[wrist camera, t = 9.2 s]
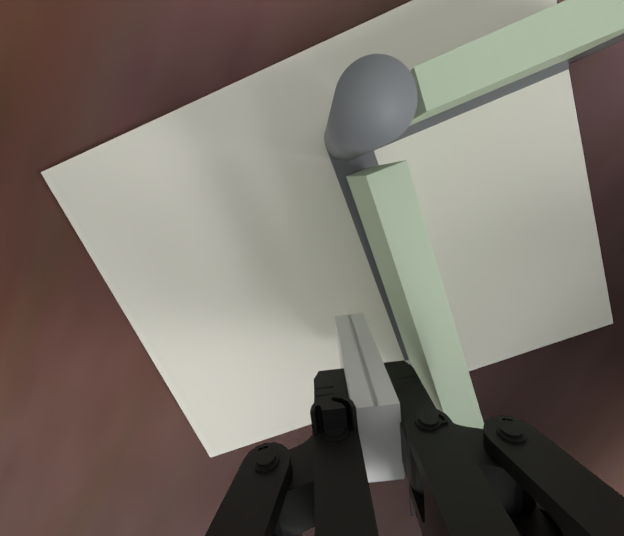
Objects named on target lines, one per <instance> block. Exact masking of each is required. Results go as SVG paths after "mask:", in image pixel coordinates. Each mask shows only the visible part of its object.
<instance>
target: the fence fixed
mask: <svg viewBox="0 0 624 536" xmlns="http://www.w3.org/2000/svg"><path fill="white" fill-rule="evenodd" d="M622 40H624V0H565V1H563V2H561V3H558V4H556V5H554V6H552V7H549V8H547V9H545V10H543V11H540V12H538V13H536V14H533V15H531V16H529V17H527V18H524V19H522V20H520V21H518V22H515V23H513V24H511V25H508V26H506V27H504V28H502V29H499V30H497V31H495V32H493V33H490V34H488V35H486V36H483V37H481V38H479V39H477V40H474V41H472V42H470V43H468V44H465V45H463V46H461V47H458V48H456V49H454V50H452V51H449V52H447V53H445V54H443V55H440V56H438V57H436V58H434V59H431V60H429V61H427V62H424V63H422V64H420V65H418V66H415V67H414V68H413V69H412V70H411V71H409V69H408V68H407V67H406V66H405V65H404V64H403V63H402V62H401V61H399V60H398V59H396V58H394V57H392V56H389V55H385V54H371V55H366V56H364V57H361V58H359V59H357V60H356V61H354V62H353V63H352V64H350V65H349V66H348V67H347V68H346V70H345V71H344V72H343V74H342V75H341V77H340V78H339V81H338V83H337V86H336V89H335V93H334V97H333V101H332V105H331V109H330V113H329V117H328V122H327V126H326V130H325V134H324V142H325V146H326V148H327V150H328V152H329V153H330V154H331V155H332V156H333V157H334V158H336V159H338V160H342V161H349V160H352V159H355V158H357V157H359V156H361V155H363V154H366V153H368V152H370V151H372V150H374V149H376V148H379V147H381V146H383V145H385V144H387V143H389V142H391V141H393V140H395V139H396V138H398V137H399V136H400V135H402V134H403V133H404V132H405V130H406V129H407V128H408V127H409V126H410V125H413V124H415V123H417V122H420V121H422V120H425V119H427V118H429V117H432V116H434V115H436V114H439V113H441V112H444V111H446V110H448V109H451V108H453V107H455V106H458V105H460V104H463V103H465V102H467V101H470V100H472V99H474V98H477V97H479V96H481V95H484V94H486V93H489V92H491V91H493V90H496V89H498V88H500V87H503V86H505V85H508V84H510V83H512V82H515V81H517V80H519V79H522V78H524V77H527V76H529V75H531V74H534V73H536V72H538V71H541V70H543V69H546V68H548V67H550V66H553V65H555V64H557V63H560V62H562V61H565V60H567V59H568V61H569V63H572V62H575V61H577V60H580V59H582V58H584V57H586V56H589V55H591V54H593V53H595V52H598V51H600V50H602V49H604V48H607V47H609V46H611V45H613V44H616V43H618V42H620V41H622Z"/></svg>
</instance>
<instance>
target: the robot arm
mask: <svg viewBox="0 0 624 536" xmlns="http://www.w3.org/2000/svg"><path fill="white" fill-rule="evenodd" d="M335 321H336V330H337V339H338V348H339V357H340V365H341V369H332V370H324V371H318V373H317V375H316V376H315V378H314V404H313V405H312V406H311V410H310V416H311V423H312V429H313V434H312V436H311V437H310V438H309V439H308V440H307V441H306V442H304V443H303V444H301V445H299V446H297V447H295V448H292V449H290V450H288V449H287V448H286V447H284V446H283V445H282V444H279V443H275V442H273V443H264V444H262V445H259V446H257V447H255V448H254V449H253V450H251V451H250V452H249V453H248V454H247V456H246V457H245V458H244V460H243V462H242V464H241V466H240V468H239V470H238V472H237V474H236V476H235V478H234V480H233V482H232V484H231V486H230V488H229V490H228V492H227V493H226V495H225V497H224V499H223V501H222V503H221V505H220V507H219V509H218V511H217V513H216V515H215V517H214V519H213V521H212V523H211V525H210V527H209V529H208V531H207V533H206V535H205V536H302V532H304V531H306V530H308V529H310V528H312V527H314V526H315V536H379V535H378V530H377V525H376V519H375V514H374V509H373V504H372V499H371V494H370V488H369V483H370V482H379V481H389V480H399V479H405V476H404V468H405V471H406V474H407V477H408V480H409V493H410V509H411V516H413V515H415V512H416V515H417V518H418V522H419V525H420V528H421V531H422V534H423V536H624V497H623V496H622V495H620V494H619V493H618V492H616V491H615V490H614V489H612V488H611V487H610V486H609V485H607V484H606V483H605V482H603V481H602V480H601V479H599V478H598V477H597V476H596V475H594V474H593V473H592V472H590V471H589V470H588V469H587V468H585V467H584V466H583V465H581V464H580V463H579V462H577V461H576V460H575V459H574V458H572V457H571V456H570V455H568V454H567V453H566V452H564V451H563V450H562V449H561V448H559V447H558V446H557V445H555V444H554V443H553V442H551V441H550V440H549V439H548V438H546V437H545V436H544V435H542V434H541V433H540V432H538V431H537V430H536V429H535V428H533V427H532V426H531V425H529V424H527V423H526V422H524V421H522V420H519V419H516V418H513V417H509V416H495V417H491V418H490V419H488V420H486V422H485V424H484V426H483V429H480V428H473V427H466V426H461V425H457V424H455V423H453V422H452V420H451V419H450V418H449V417H448V416H447V415H446V414H445V413H443V412H442V411H440V410H438V409H436V407H435V405H434V403H433V402H432V400H431V398H430V396H429V395H428V393H427V391H426V389H425V387H424V386H423V384H422V382H421V380H420V378H419V377H418V375H417V373H416V371H415V369H414V368H413V367H412V366H411V365H410V364H408V363H407V362H405V361H404V360H402V361H394V362H385V363H383V361H382V358H381V356H380V353H379V351H378V349H377V346H376V344H375V341H374V339H373V336H372V334H371V332H370V329H369V327H368V324H367V322H366V319H365V317H364V314H363V313H358V314H350V315H341V316H335Z"/></svg>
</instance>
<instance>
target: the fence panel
mask: <svg viewBox="0 0 624 536" xmlns="http://www.w3.org/2000/svg"><path fill="white" fill-rule="evenodd" d="M346 178H347V180H348V183H349V186H350V189H351V192H352V195H353V198H354V201H355V204H356V207H357V210H358V212H359V215H360V218H361V221H362V224H363V227H364V230H365V233H366V236H367V239H368V242H369V244H370V247H371V250H372V253H373V256H374V259H375V262H376V265H377V268H378V271H379V274H380V276H381V279H382V282H383V285H384V288H385V291H386V294H387V297H388V300H389V303H390V306H391V308H392V311H393V314H394V317H395V320H396V323H397V326H398V329H399V332H400V335H401V338H402V340H403V343H404V346H405V349H406V352H407V355H408V358H409V361H410V363H409V364H410V365H411V366H412V367H413V368H414V369H415V371H416V373H417V375H418V377H419V378H420V380H421V382H422V384H423V386H424V387H425V389H426V391H427V393H428V395H429V396H430V398H431V400H432V402H433V403H434V405H435V407H436V409H438V410H440V411H442V412H443V413H445V414H446V415H447V416H448V417H449V418H450V419H451V420H452V422H453V423H455V424H457V425H461V426H466V427H473V428H480V429H483V426H484V422H483V419H482V415H481V412H480V409H479V405H478V402H477V398H476V395H475V392H474V388H473V385H472V381H471V378H470V374H469V371H468V368H467V364H466V361H465V357H464V354H463V351H462V347H461V344H460V340H459V337H458V334H457V330H456V327H455V323H454V320H453V317H452V313H451V310H450V306H449V303H448V300H447V296H446V293H445V289H444V286H443V282H442V279H441V276H440V272H439V269H438V265H437V262H436V259H435V255H434V252H433V248H432V245H431V242H430V238H429V235H428V231H427V228H426V225H425V221H424V218H423V214H422V211H421V207H420V204H419V201H418V197H417V194H416V190H415V187H414V184H413V180H412V177H411V173H410V170H409V167H408V163H407V160H404V161H399V162H393V163H388V164H383V165H377V166H372V167H369V168H366V169H364V170H361V171H359V172H356V173H354V174H351V175H349V176H346Z"/></svg>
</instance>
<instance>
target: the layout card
mask: <svg viewBox="0 0 624 536" xmlns="http://www.w3.org/2000/svg"><path fill="white" fill-rule="evenodd" d="M556 4H557V0H412V1H410V2H408V3H406V4H404V5H401V6H399V7H397V8H395V9H393V10H391V11H389V12H386V13H384V14H382V15H380V16H378V17H376V18H373V19H371V20H369V21H367V22H365V23H363V24H360V25H358V26H356V27H354V28H352V29H350V30H347V31H345V32H343V33H341V34H339V35H337V36H334V37H332V38H330V39H328V40H326V41H324V42H322V43H319V44H317V45H315V46H313V47H311V48H309V49H306V50H304V51H302V52H300V53H298V54H296V55H293V56H291V57H289V58H287V59H285V60H283V61H280V62H278V63H276V64H274V65H272V66H270V67H267V68H265V69H263V70H261V71H259V72H257V73H254V74H252V75H250V76H248V77H246V78H244V79H242V80H239V81H237V82H235V83H233V84H231V85H229V86H226V87H224V88H222V89H220V90H218V91H216V92H213V93H211V94H209V95H207V96H205V97H203V98H200V99H198V100H196V101H194V102H192V103H190V104H187V105H185V106H183V107H181V108H179V109H177V110H174V111H172V112H170V113H168V114H166V115H164V116H162V117H159V118H157V119H155V120H153V121H151V122H149V123H146V124H144V125H142V126H140V127H138V128H136V129H133V130H131V131H129V132H127V133H125V134H123V135H120V136H118V137H116V138H114V139H112V140H110V141H107V142H105V143H103V144H101V145H99V146H97V147H95V148H92V149H90V150H88V151H86V152H84V153H82V154H79V155H77V156H75V157H73V158H71V159H69V160H66V161H64V162H62V163H60V164H58V165H56V166H53V167H51V168H49V169H47V170H45V171H43V172H41V174H42V176H43V177H44V179H45V181H46V182H47V184H48V186H49V187H50V189H51V191H52V193H53V194H54V196H55V198H56V199H57V201H58V203H59V204H60V206H61V208H62V209H63V211H64V213H65V214H66V216H67V218H68V219H69V221H70V223H71V224H72V226H73V228H74V229H75V231H76V233H77V235H78V236H79V238H80V240H81V241H82V243H83V245H84V246H85V248H86V250H87V251H88V253H89V255H90V256H91V258H92V260H93V261H94V263H95V265H96V266H97V268H98V270H99V271H100V273H101V275H102V277H103V278H104V280H105V282H106V283H107V285H108V287H109V288H110V290H111V292H112V293H113V295H114V297H115V298H116V300H117V302H118V303H119V305H120V307H121V308H122V310H123V312H124V313H125V315H126V317H127V319H128V320H129V322H130V324H131V325H132V327H133V329H134V330H135V332H136V334H137V335H138V337H139V339H140V340H141V342H142V344H143V345H144V347H145V349H146V350H147V352H148V354H149V355H150V357H151V359H152V360H153V362H154V364H155V366H156V367H157V369H158V371H159V372H160V374H161V376H162V377H163V379H164V381H165V382H166V384H167V386H168V387H169V389H170V391H171V392H172V394H173V396H174V397H175V399H176V401H177V402H178V404H179V406H180V408H181V409H182V411H183V413H184V414H185V416H186V418H187V419H188V421H189V423H190V424H191V426H192V428H193V429H194V431H195V433H196V434H197V436H198V438H199V439H200V441H201V443H202V444H203V446H204V448H205V450H206V451H207V453H208V455H209V456H210V458H211V457H214V456H217V455H220V454H223V453H226V452H229V451H232V450H235V449H238V448H241V447H244V446H247V445H250V444H253V443H256V442H259V441H262V440H265V439H268V438H271V437H274V436H277V435H280V434H283V433H286V432H289V431H292V430H295V429H298V428H301V427H304V426H307V425H310V424H312V423H311V416H310V410H311V406H312V405H313V404H314V378H315V376H316V375H317V373H318V371H324V370H332V369H341V365H340V357H339V348H338V339H337V330H336V321H335V316H341V315H350V314H358V313H363V314H364V317H365V319H366V322H367V324H368V327H369V329H370V332H371V334H372V336H373V339H374V341H375V344H376V346H377V349H378V351H379V353H380V356H381V358H382V361H383V363H385V362H394V361H402V360H404V361H405V362H407V363H408V364H409V363H410V361H409V358H408V355H407V352H406V349H405V346H404V343H403V340H402V338H401V335H400V332H399V329H398V326H397V323H396V320H395V317H394V314H393V311H392V308H391V306H390V303H389V300H388V297H387V294H386V291H385V288H384V285H383V282H382V279H381V276H380V274H379V271H378V268H377V265H376V262H375V259H374V256H373V253H372V250H371V247H370V244H369V242H368V239H367V236H366V233H365V230H364V227H363V224H362V221H361V218H360V215H359V212H358V210H357V207H356V204H355V201H354V198H353V195H352V192H351V189H350V186H349V183H348V180H347V178H346V176H349V175H351V174H354V173H356V172H359V171H361V170H364V169H366V168H369V167H372V166H377V165H383V164H388V163H393V162H399V161H404V160H407V163H408V167H409V170H410V173H411V177H412V180H413V184H414V187H415V190H416V194H417V197H418V201H419V204H420V207H421V211H422V214H423V218H424V221H425V225H426V228H427V231H428V235H429V238H430V242H431V245H432V248H433V252H434V255H435V259H436V262H437V265H438V269H439V272H440V276H441V279H442V282H443V286H444V289H445V293H446V296H447V300H448V303H449V306H450V310H451V313H452V317H453V320H454V323H455V327H456V330H457V334H458V337H459V340H460V344H461V347H462V351H463V354H464V357H465V361H466V364H467V368H468V371H472V370H475V369H478V368H481V367H484V366H487V365H490V364H493V363H496V362H499V361H502V360H505V359H508V358H511V357H514V356H517V355H520V354H523V353H526V352H529V351H532V350H535V349H538V348H541V347H544V346H547V345H550V344H553V343H556V342H559V341H562V340H565V339H568V338H571V337H574V336H577V335H580V334H583V333H586V332H589V331H592V330H595V329H598V328H601V327H604V326H607V325H610V324H613V318H612V313H611V307H610V301H609V296H608V290H607V284H606V278H605V273H604V267H603V261H602V256H601V250H600V244H599V239H598V233H597V227H596V222H595V216H594V210H593V205H592V199H591V193H590V188H589V182H588V176H587V171H586V165H585V159H584V154H583V148H582V142H581V136H580V131H579V125H578V119H577V114H576V108H575V102H574V97H573V91H572V85H571V80H570V74H569V69H570V67H569V61H568V59H567V60H565V61H562V62H560V63H557V64H555V65H553V66H550V67H548V68H546V69H543V70H541V71H538V72H536V73H534V74H531V75H529V76H527V77H524V78H522V79H519V80H517V81H515V82H512V83H510V84H508V85H505V86H503V87H500V88H498V89H496V90H493V91H491V92H489V93H486V94H484V95H481V96H479V97H477V98H474V99H472V100H470V101H467V102H465V103H463V104H460V105H458V106H455V107H453V108H451V109H448V110H446V111H444V112H441V113H439V114H436V115H434V116H432V117H429V118H427V119H425V120H422V121H420V122H417V123H415V124H413V125H410V126H409V127H408V128H407V129H406V130H405V132H404V133H403V134H402V135H400V136H399V137H398V138H396V139H395V140H393V141H391V142H389V143H387V144H385V145H383V146H381V147H379V148H376V149H374V150H372V151H370V152H368V153H366V154H363V155H361V156H359V157H357V158H355V159H352V160H349V161H342V160H338V159H336V158H334V157H333V156H332V155H331V154H330V153H329V152H328V150H327V148H326V146H325V142H324V134H325V130H326V126H327V122H328V117H329V113H330V109H331V105H332V101H333V97H334V93H335V89H336V86H337V83H338V81H339V78H340V77H341V75H342V74H343V72H344V71H345V70H346V68H347V67H348V66H349V65H350V64H352V63H353V62H354V61H356V60H357V59H359V58H361V57H364V56H366V55H371V54H385V55H389V56H392V57H394V58H396V59H398V60H399V61H401V62H402V63H403V64H404V65H405V66H406V67H407V68H408V69H409V71H411V70H412V69H413V68H414V67H415V66H418V65H420V64H422V63H424V62H427V61H429V60H431V59H434V58H436V57H438V56H440V55H443V54H445V53H447V52H449V51H452V50H454V49H456V48H458V47H461V46H463V45H465V44H468V43H470V42H472V41H474V40H477V39H479V38H481V37H483V36H486V35H488V34H490V33H493V32H495V31H497V30H499V29H502V28H504V27H506V26H508V25H511V24H513V23H515V22H518V21H520V20H522V19H524V18H527V17H529V16H531V15H533V14H536V13H538V12H540V11H543V10H545V9H547V8H549V7H552V6H554V5H556Z"/></svg>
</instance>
